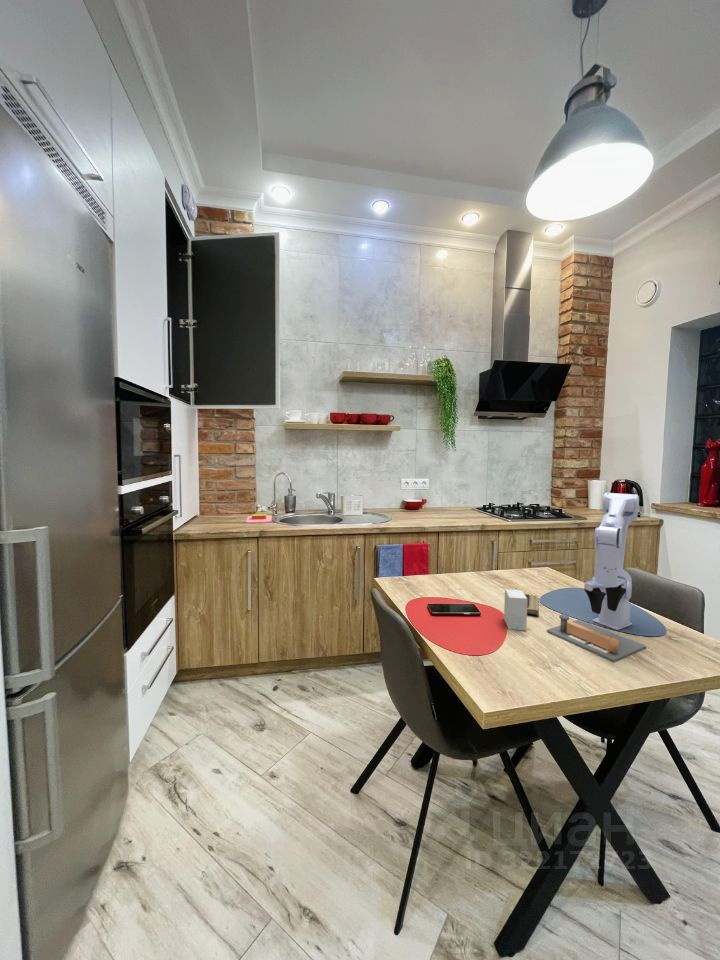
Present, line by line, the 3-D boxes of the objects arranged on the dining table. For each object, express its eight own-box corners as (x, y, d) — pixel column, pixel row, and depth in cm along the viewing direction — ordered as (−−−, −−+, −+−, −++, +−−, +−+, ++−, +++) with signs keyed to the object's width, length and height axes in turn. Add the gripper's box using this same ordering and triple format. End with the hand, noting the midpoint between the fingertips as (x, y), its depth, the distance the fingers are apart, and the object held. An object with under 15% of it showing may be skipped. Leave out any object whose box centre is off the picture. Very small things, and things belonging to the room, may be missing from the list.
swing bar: (570, 630, 118) (571, 620, 118) (620, 651, 106) (620, 640, 105) (566, 632, 117) (566, 622, 117) (615, 653, 104) (615, 642, 104)
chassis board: (578, 621, 128) (579, 605, 127) (646, 647, 110) (647, 630, 110) (546, 631, 120) (547, 615, 119) (613, 662, 102) (615, 643, 102)
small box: (526, 631, 120) (528, 598, 119) (507, 629, 121) (509, 597, 120) (521, 620, 128) (522, 590, 127) (503, 618, 129) (504, 588, 128)
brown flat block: (515, 599, 148) (515, 591, 148) (538, 603, 144) (538, 594, 144) (513, 614, 134) (513, 605, 133) (538, 619, 130) (539, 609, 130)
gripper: (611, 561, 118) (608, 603, 119) (576, 564, 113) (573, 609, 114) (634, 567, 111) (631, 612, 112) (597, 571, 107) (595, 618, 108)
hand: (603, 611), depth 113 cm, fingers open, 6 cm apart
